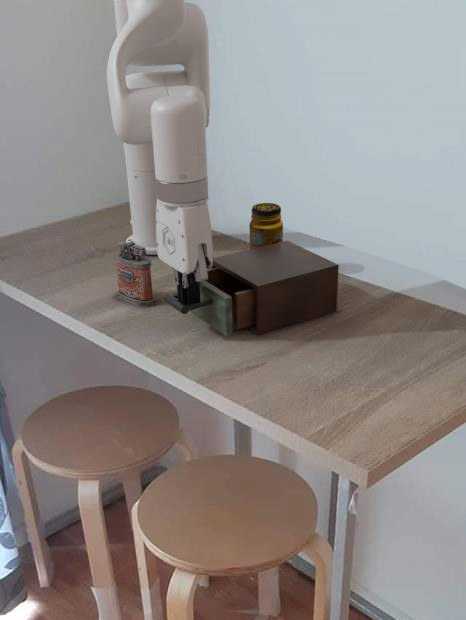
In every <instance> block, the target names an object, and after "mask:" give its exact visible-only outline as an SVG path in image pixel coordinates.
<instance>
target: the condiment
mask: <svg viewBox="0 0 466 620" xmlns="http://www.w3.org/2000/svg"><path fill="white" fill-rule="evenodd" d="M281 214H282V208H281V206H280V205H279V204H277V203H272V202H261V203H256V204H254V205H253V206H252V207H251V220H250V222H249V250H250V249H254V248H258V247H262V246H266V245H270V244H275V243H279V242H283V241H284V222H283V221H282V215H281Z"/></svg>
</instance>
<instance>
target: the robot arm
mask: <svg viewBox="0 0 466 620" xmlns="http://www.w3.org/2000/svg"><path fill="white" fill-rule="evenodd" d="M113 5H114V16H115V27H116V38H115V39H114V42H113V43H112V47H111V49H110V51H109V56H108V59H107V65H106V83H107V84H106V85H107V92H108V99H109V107H110V114H111V120H112V125H113V126H112V127H113V129H114V132H115V134H116V136H117V138H118V139H119V140H120V141H121V142H122V143H123V150H124V158H125V159H124V161H125V167H126V168H125V169H126V179H127V188H128V199H129V209H130V210H129V211H130V221H129V222H130V225H131V231H132V234H131V235H130V236H128V237H127V238H126V239H125V242H127V243H128V242H131V241H133V242H134V243H135V245H139V246H142V247H144V248H146V255H147V256H153V255H154V256H157V257H158V259H159V260H160V261H161V262H163V263H165V264H166V265H167V266H169V267H171V268H172V270H173V276H174V281H175V283H176V292H177V293H176V294H177V296H178V300H179V301H181V302H182V303H184V304H185V305H187V306H188V305H191V304H195V303H199V302H201V300H200V285H201V282H202V281H206V280H208V274H207V269H211V267H212V264H213V258H214V247H213V245H214V244H213V234H212V225H211V217H210V211H209V205H208V202H209V177H208V156H207V135H206V134H207V133H206V129H207V128H208V127H209V124H210V110H211V87H210V86H211V83H210V82H211V79H210V78H211V77H210V46H209V45H210V43H209V41H210V40H209V29H208V25H207V19H206V16H205V13H204V11H203V10H202V9H201V8H200V6H198V5H197V4H196V3H190V2H185V0H113ZM129 65H130V66H134V67H155V66H156V67H157V66H172V65H179V66H182V67H183V70H167V71H165V70H164V71H162V70H161V71H159V70H158V71H147V72H145V71H144V72H135V73H131V74H126V72H127V69H128V66H129ZM146 255H145V256H146ZM199 308H200V307H199ZM195 309H197V308H195ZM192 310H193V309H192ZM189 312H190V310H189Z"/></svg>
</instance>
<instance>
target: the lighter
mask: <svg viewBox="0 0 466 620" xmlns="http://www.w3.org/2000/svg"><path fill="white" fill-rule="evenodd" d="M117 244H118V249H119V251H118V252H115V253H114V254H113V260H114V261H115V268H116V269H115V270H116V277H117V278H116V279H117V287H118V291H117V296H118V298H120V299H121V300H123V301H125V302H127V303H130V304H133V305H136V306H140V307H151V306H153V305H155V297H154V293H153V284H152V283H153V282H152V271H151V266H152V260H151V259H150V258H147V257H145V256H146V248H144V247H142V246H139V245H135V243H134V242H133V241H131V242H128V243H127V242H126V241H119V242H118V243H117Z"/></svg>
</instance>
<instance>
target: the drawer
mask: <svg viewBox="0 0 466 620" xmlns="http://www.w3.org/2000/svg"><path fill="white" fill-rule="evenodd" d="M207 274H208V280H206V281H202V282H201V285H200V300H201V302H199V303H195V304H191V305H188V306H187V305H185V304H184V303H182V302H181V301H179V300H178V296H177V293H176V294H170V293H165V294H164V295H163V297H162V298H163V302H164V303H166V304H167V305H169V306H171V308H173V309H175V310H177V311H178V312H179V313H181V314H182V315H187V314H188V313H191V314H193V315H194V316H196V317H197V318H198V319H200V320H201V321H203V322H204V323H206V324H208V325H209V326H211V327H212V328H213V329H215V330H216V331H218V332H219V333H221V334H222V335H224V337H229V336H233V334H234V331H233V329H234V328H235V329H236V330H240V329H245V328H248V326H251V325H255V324H256V311H255V289H254V288H252V287H250V286H249V285H247V284H245V283H243V282H242V281H240V280H238V279H236V278H235V277H233V276H231V275H229V274H228V273H226V272H224V271H223V270H221V269H219V268H217V267H215V268H210V269H207ZM199 307H200V308H199ZM195 308H197V309H195ZM192 309H193V310H192ZM189 310H190V311H189ZM233 327H234V328H233Z"/></svg>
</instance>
